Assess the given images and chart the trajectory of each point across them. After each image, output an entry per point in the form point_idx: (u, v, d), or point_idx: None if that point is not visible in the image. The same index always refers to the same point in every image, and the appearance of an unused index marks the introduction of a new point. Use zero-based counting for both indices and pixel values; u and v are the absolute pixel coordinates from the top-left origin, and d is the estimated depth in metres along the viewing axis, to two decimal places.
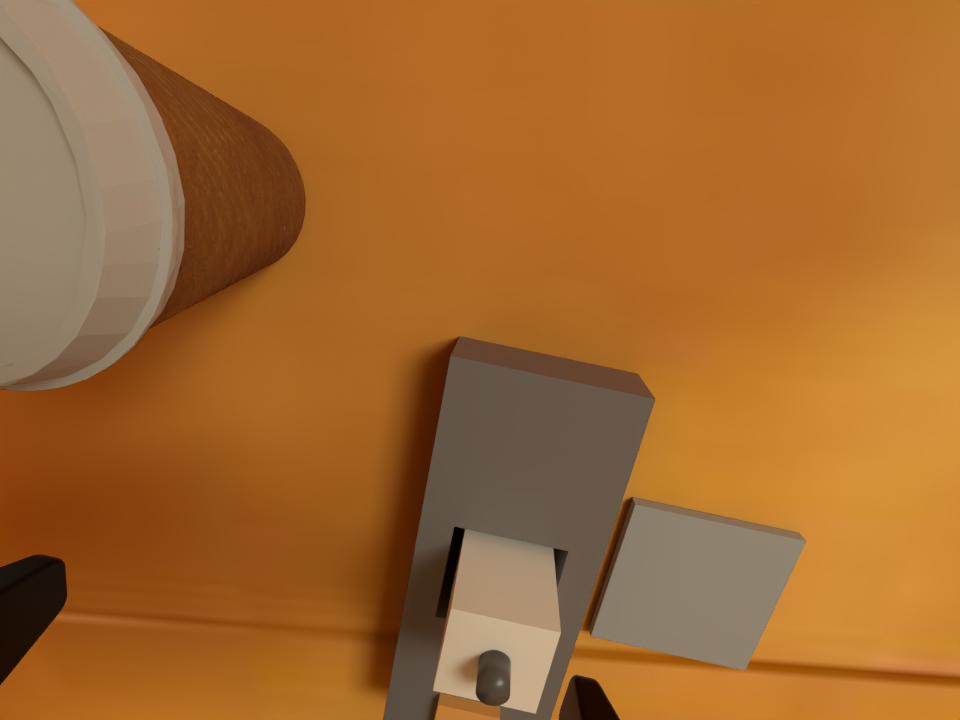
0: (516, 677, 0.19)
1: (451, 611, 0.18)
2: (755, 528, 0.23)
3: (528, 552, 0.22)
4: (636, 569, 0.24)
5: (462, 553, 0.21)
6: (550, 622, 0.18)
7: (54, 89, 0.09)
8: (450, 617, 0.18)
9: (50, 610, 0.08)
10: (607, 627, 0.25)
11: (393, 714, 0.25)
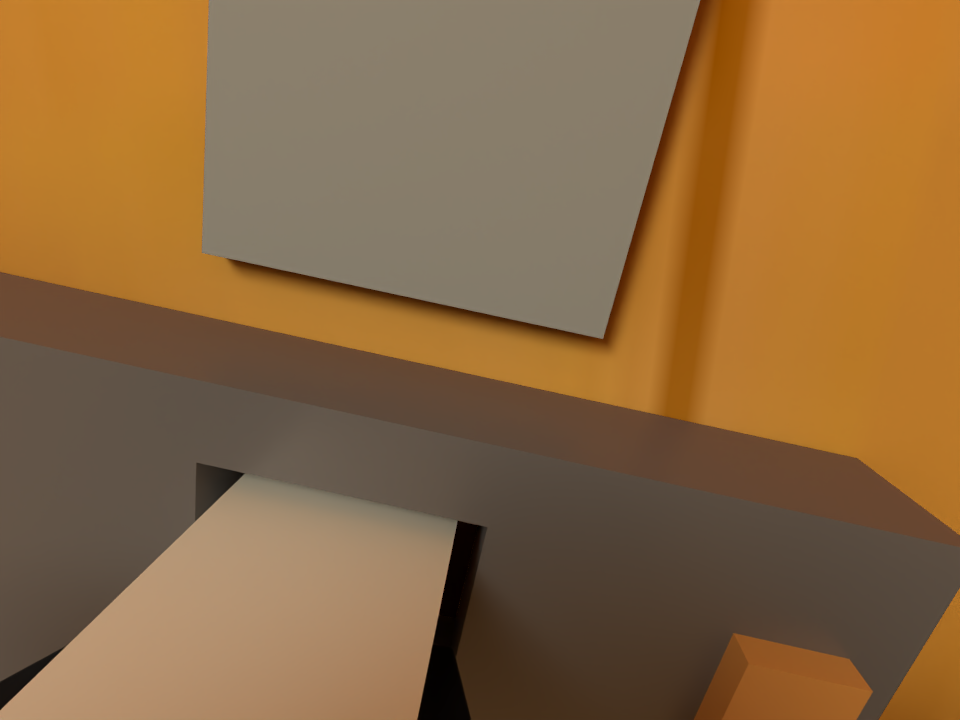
0: None
1: None
2: None
3: None
4: (381, 234, 0.09)
5: None
6: None
7: None
8: None
9: None
10: (571, 297, 0.09)
11: None
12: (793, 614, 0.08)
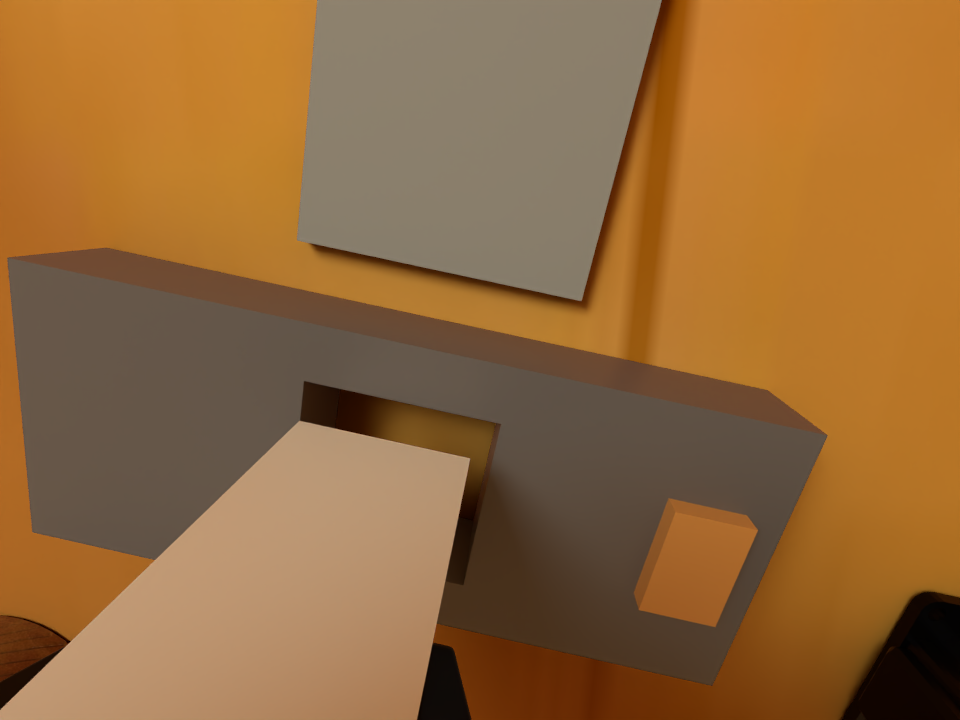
0: None
1: None
2: None
3: None
4: (425, 227, 0.13)
5: None
6: None
7: None
8: None
9: None
10: (559, 271, 0.13)
11: (684, 666, 0.14)
12: (708, 482, 0.12)
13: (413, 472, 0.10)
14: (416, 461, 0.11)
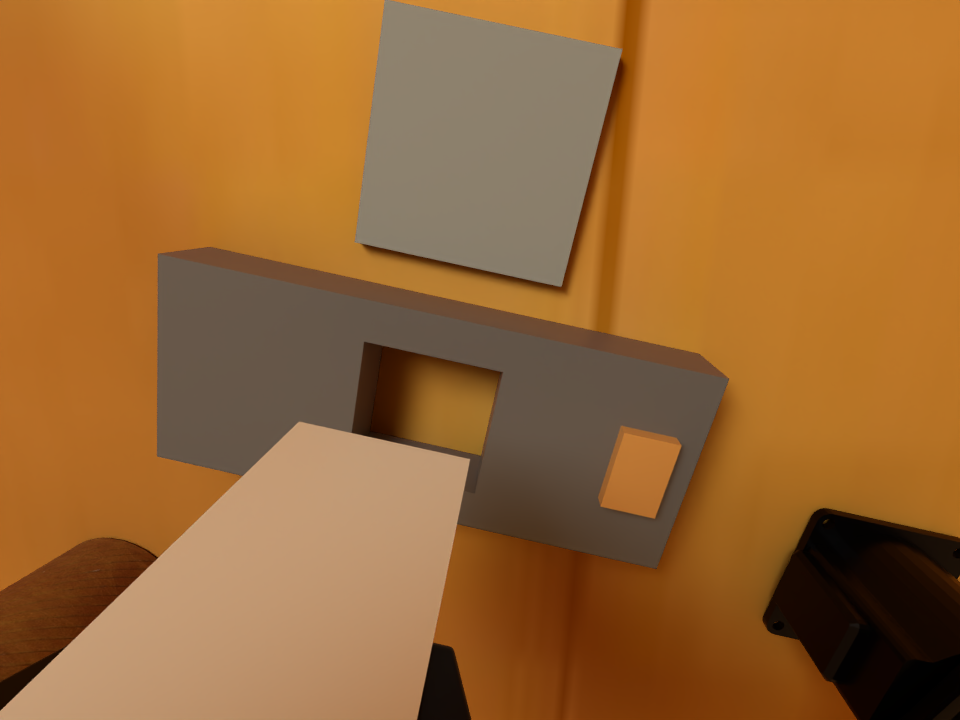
0: None
1: None
2: None
3: None
4: (448, 233, 0.19)
5: None
6: None
7: None
8: None
9: None
10: (545, 265, 0.19)
11: (636, 553, 0.19)
12: (648, 414, 0.17)
13: (413, 473, 0.10)
14: (416, 461, 0.11)
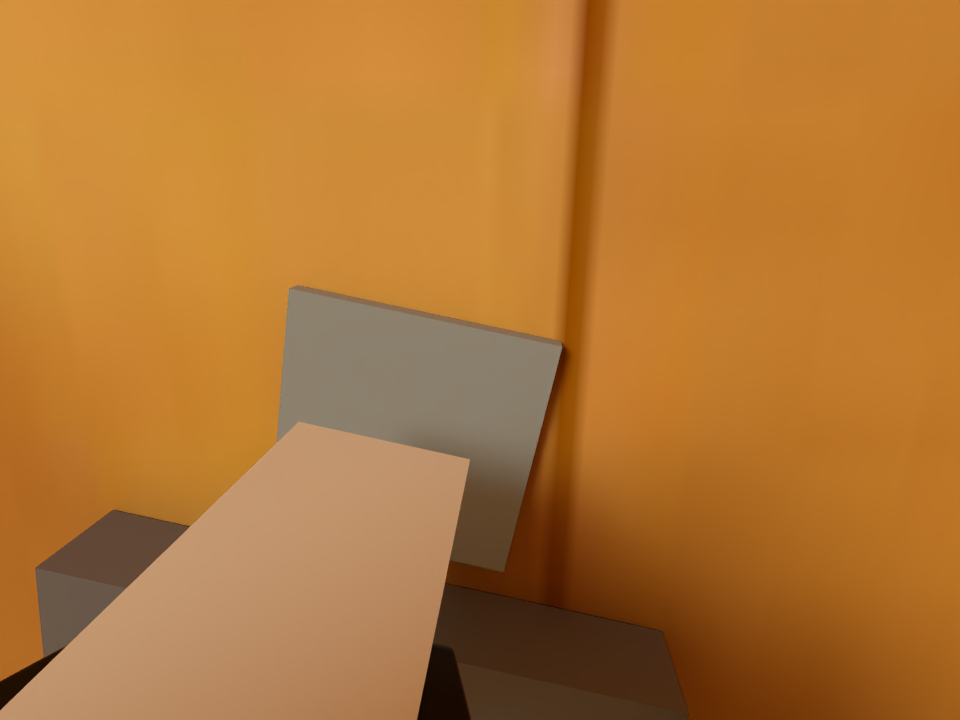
0: None
1: None
2: None
3: None
4: None
5: None
6: None
7: None
8: None
9: None
10: (484, 551, 0.16)
11: None
12: None
13: (413, 473, 0.10)
14: (416, 462, 0.11)
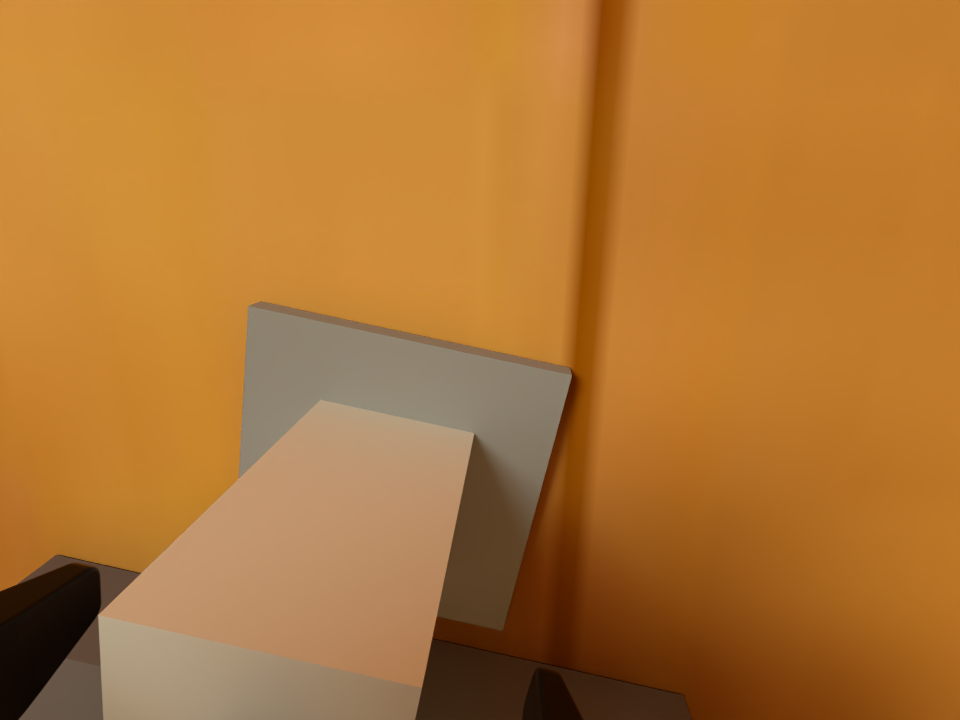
0: None
1: None
2: None
3: None
4: None
5: None
6: None
7: None
8: None
9: (86, 618, 0.08)
10: (480, 607, 0.14)
11: None
12: None
13: (424, 443, 0.12)
14: (426, 434, 0.12)
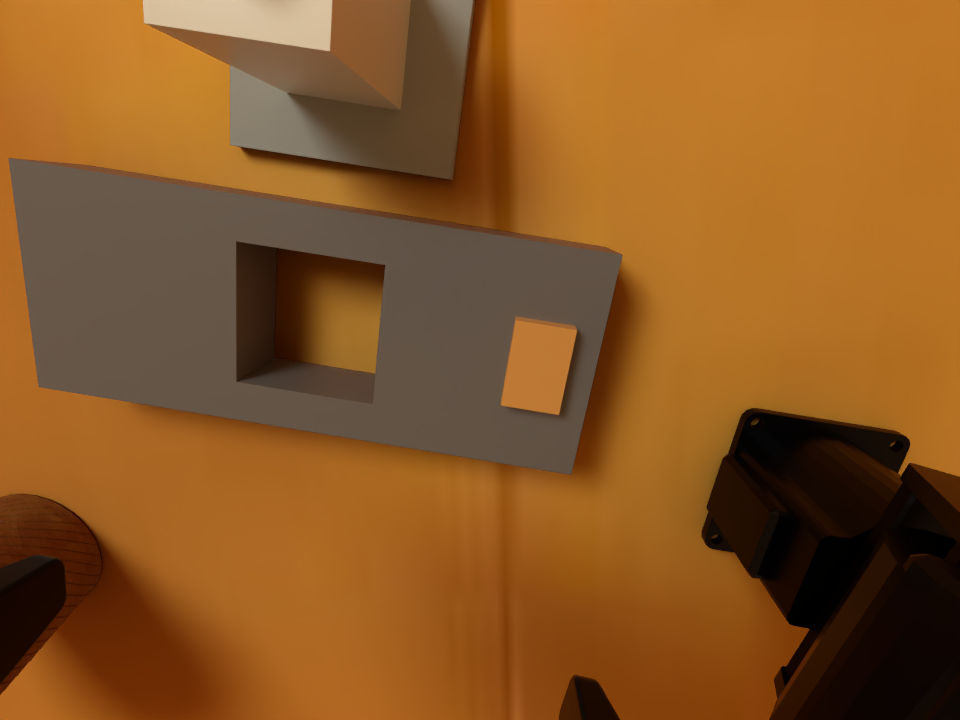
0: None
1: (151, 22, 0.11)
2: None
3: None
4: (326, 127, 0.17)
5: None
6: None
7: None
8: (162, 22, 0.11)
9: (50, 610, 0.08)
10: (431, 156, 0.18)
11: (548, 459, 0.18)
12: (542, 301, 0.16)
13: None
14: None
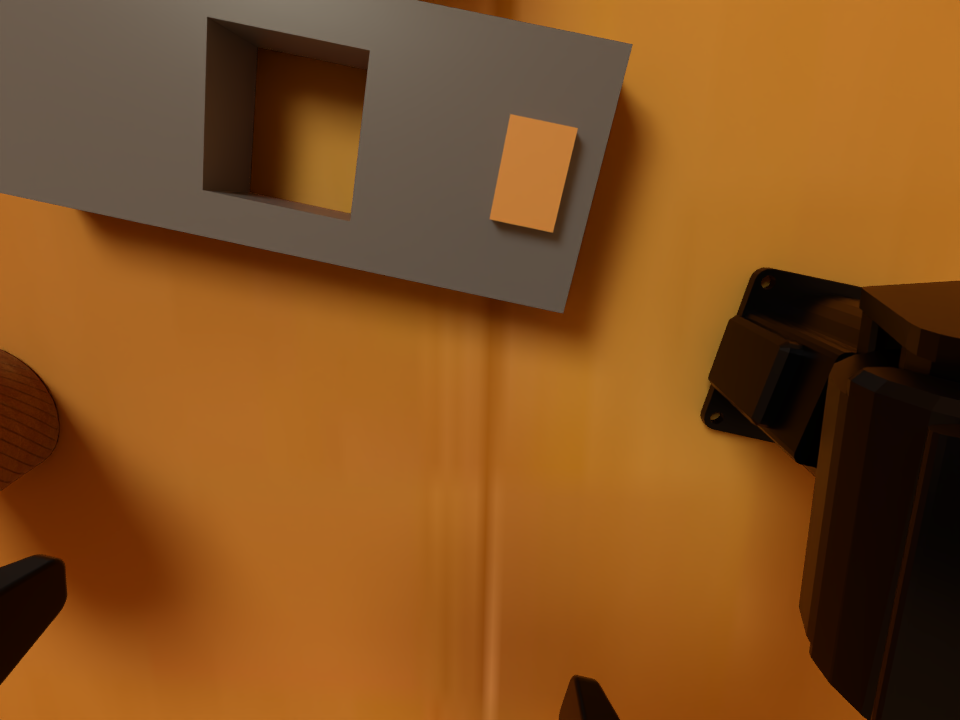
0: None
1: None
2: None
3: None
4: None
5: None
6: None
7: None
8: None
9: (50, 610, 0.08)
10: None
11: (538, 293, 0.17)
12: (541, 99, 0.15)
13: None
14: None
